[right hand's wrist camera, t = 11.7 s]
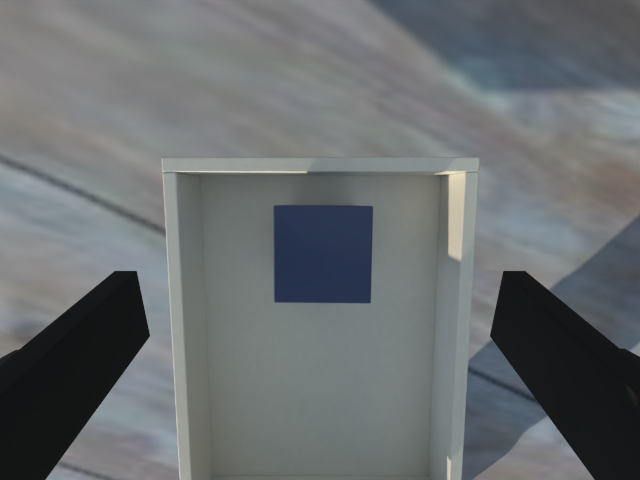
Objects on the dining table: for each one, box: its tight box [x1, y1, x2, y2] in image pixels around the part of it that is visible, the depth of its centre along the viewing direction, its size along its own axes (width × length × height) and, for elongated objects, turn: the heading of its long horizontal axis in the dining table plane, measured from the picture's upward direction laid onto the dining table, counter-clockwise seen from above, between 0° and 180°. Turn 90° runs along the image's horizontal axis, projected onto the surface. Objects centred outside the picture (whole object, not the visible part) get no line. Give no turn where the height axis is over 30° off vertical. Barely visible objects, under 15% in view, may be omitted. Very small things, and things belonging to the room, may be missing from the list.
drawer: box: [162, 157, 480, 480], centre depth 22 cm, size 24×18×8 cm
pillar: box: [273, 205, 373, 304], centre depth 20 cm, size 4×4×8 cm
